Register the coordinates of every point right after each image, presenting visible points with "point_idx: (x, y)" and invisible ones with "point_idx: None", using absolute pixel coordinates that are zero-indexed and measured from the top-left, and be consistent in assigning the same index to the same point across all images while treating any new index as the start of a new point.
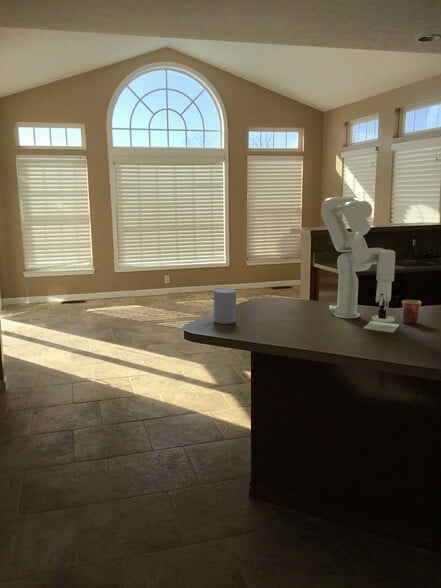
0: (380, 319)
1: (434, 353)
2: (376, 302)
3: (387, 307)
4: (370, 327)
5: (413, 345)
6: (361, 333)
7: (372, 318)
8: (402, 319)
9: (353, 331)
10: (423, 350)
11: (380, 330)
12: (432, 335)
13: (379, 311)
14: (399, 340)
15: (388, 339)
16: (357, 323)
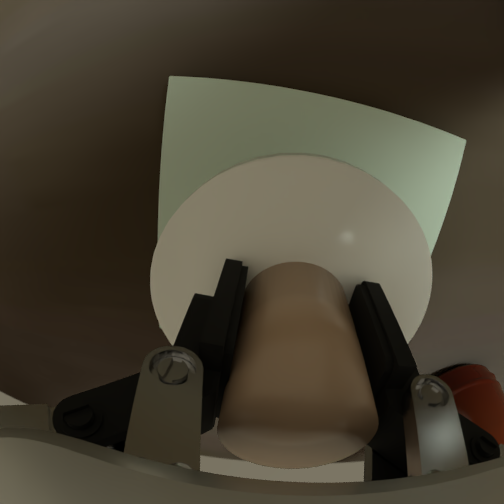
0: (169, 280)
1: (13, 396)
2: (8, 430)
3: (261, 464)
4: (193, 140)
5: (27, 368)
6: (35, 104)
7: (230, 170)
8: (462, 377)
9: (61, 31)
10: (10, 380)
11: (159, 236)
12: (216, 452)
13: (207, 328)
14: (41, 333)
15: (20, 285)
16: (372, 3)
